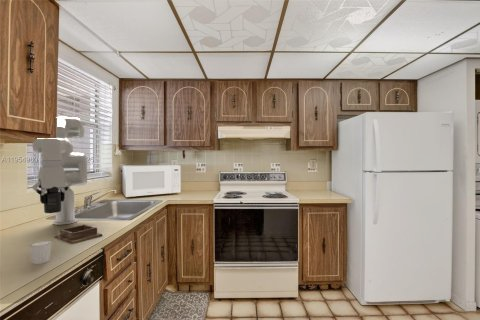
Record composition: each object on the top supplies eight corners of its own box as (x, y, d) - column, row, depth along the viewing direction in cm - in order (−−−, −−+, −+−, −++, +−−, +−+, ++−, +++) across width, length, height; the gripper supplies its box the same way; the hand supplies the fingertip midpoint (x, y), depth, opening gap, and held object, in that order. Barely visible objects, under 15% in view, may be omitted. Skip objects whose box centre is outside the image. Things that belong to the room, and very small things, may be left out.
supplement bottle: (65, 210, 129) (64, 185, 129) (55, 213, 122) (54, 187, 122) (51, 210, 129) (50, 185, 129) (40, 213, 122) (39, 187, 122)
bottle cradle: (54, 237, 134) (54, 229, 134) (83, 230, 146) (83, 223, 146) (73, 243, 125) (72, 235, 124) (102, 235, 136) (102, 228, 136)
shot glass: (55, 257, 108) (54, 240, 108) (45, 264, 101) (45, 245, 101) (36, 258, 107) (36, 241, 107) (25, 265, 100) (25, 246, 100)
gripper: (68, 163, 134) (69, 198, 135) (26, 164, 120) (27, 204, 120) (75, 163, 130) (76, 200, 131) (33, 165, 116) (34, 206, 116)
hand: (52, 201), depth 125 cm, fingers closed on supplement bottle, 6 cm apart
